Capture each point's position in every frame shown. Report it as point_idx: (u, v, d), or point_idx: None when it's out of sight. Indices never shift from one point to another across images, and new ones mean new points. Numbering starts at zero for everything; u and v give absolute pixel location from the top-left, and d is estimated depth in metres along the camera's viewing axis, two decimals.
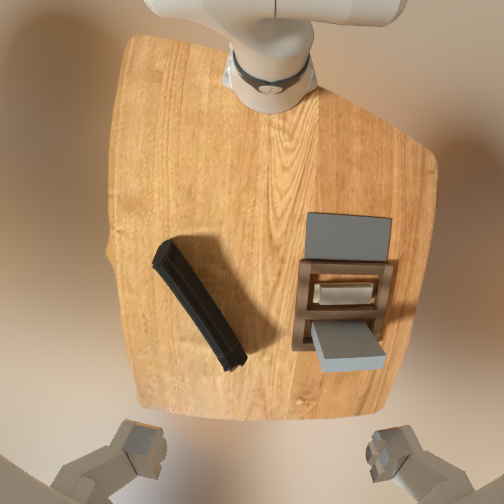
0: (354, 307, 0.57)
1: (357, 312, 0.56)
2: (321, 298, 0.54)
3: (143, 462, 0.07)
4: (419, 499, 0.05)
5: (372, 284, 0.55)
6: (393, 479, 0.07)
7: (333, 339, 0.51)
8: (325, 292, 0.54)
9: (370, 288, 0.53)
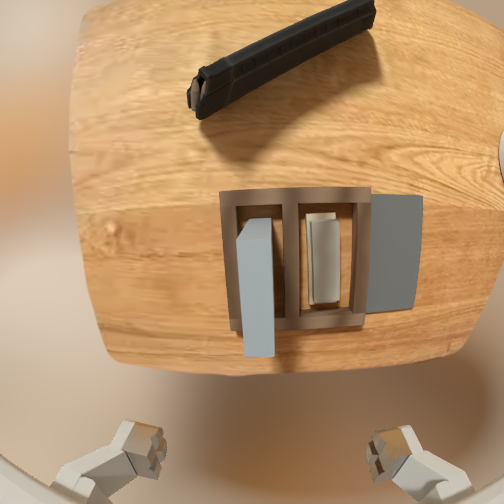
0: None
1: (296, 286, 0.38)
2: (322, 223, 0.35)
3: (143, 462, 0.07)
4: (419, 499, 0.05)
5: None
6: (393, 479, 0.07)
7: None
8: (332, 228, 0.35)
9: (338, 297, 0.37)
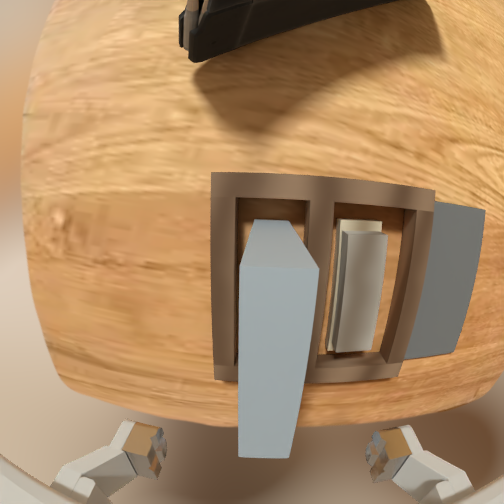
0: None
1: (318, 327, 0.25)
2: (363, 236, 0.22)
3: (143, 462, 0.07)
4: (419, 499, 0.05)
5: None
6: (393, 479, 0.07)
7: None
8: (377, 245, 0.22)
9: (369, 345, 0.24)
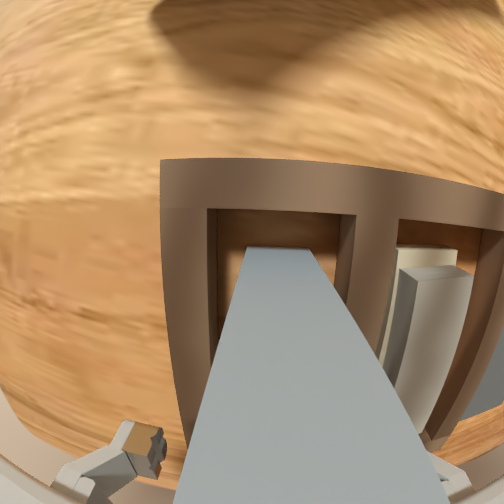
0: None
1: None
2: (440, 283, 0.10)
3: (143, 462, 0.07)
4: None
5: None
6: None
7: None
8: (458, 295, 0.10)
9: (420, 429, 0.13)
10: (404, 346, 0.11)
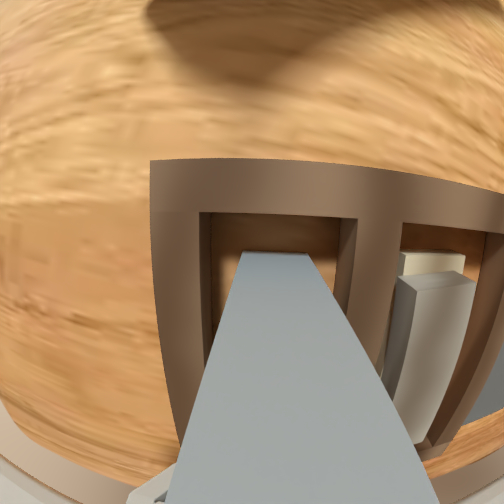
0: None
1: None
2: (440, 291, 0.10)
3: None
4: None
5: None
6: None
7: None
8: (459, 303, 0.10)
9: (421, 438, 0.12)
10: (403, 358, 0.11)
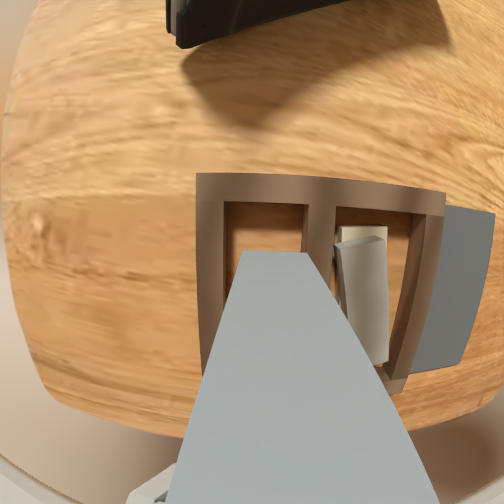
0: None
1: None
2: (357, 248, 0.19)
3: None
4: None
5: None
6: None
7: None
8: (375, 254, 0.19)
9: (386, 357, 0.21)
10: (345, 292, 0.20)
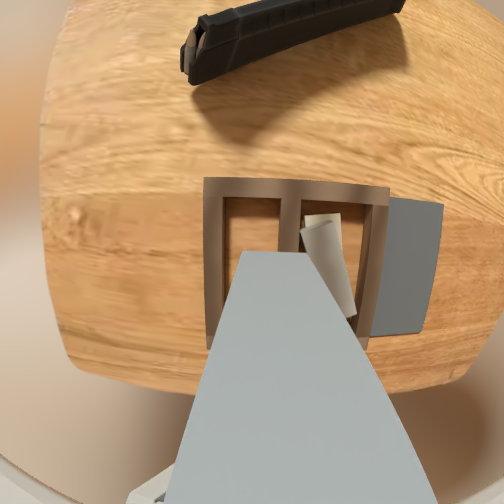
0: None
1: None
2: (314, 230, 0.28)
3: None
4: None
5: None
6: None
7: None
8: (327, 233, 0.28)
9: (354, 311, 0.30)
10: None
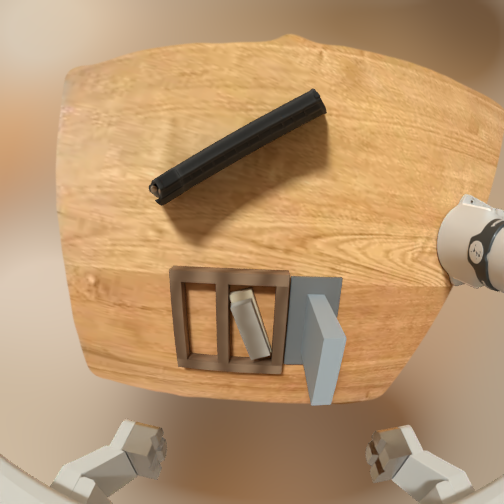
0: (229, 337, 0.50)
1: (226, 342, 0.49)
2: (238, 307, 0.46)
3: (143, 462, 0.07)
4: (419, 499, 0.05)
5: (270, 350, 0.50)
6: (393, 479, 0.07)
7: None
8: (247, 308, 0.46)
9: (268, 353, 0.48)
10: (237, 324, 0.47)
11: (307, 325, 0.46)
